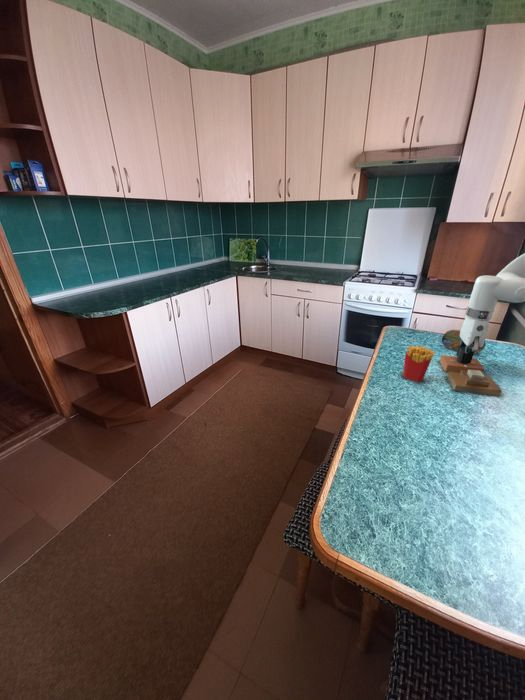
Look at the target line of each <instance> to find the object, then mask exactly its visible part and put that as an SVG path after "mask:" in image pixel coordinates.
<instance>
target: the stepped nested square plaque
mask: <svg viewBox="0 0 525 700" xmlns="http://www.w3.org/2000/svg"><path fill="white" fill-rule="evenodd" d="M467 372H468V371H464V370H461V372H460V373H456V372H447V373H446V379H447V380H448V382H449V384H450V386H451V387H452V389H453V391H454V392H461V393H468V394H469V393H470V394H477V395H478V394H479V395H485V396H486V395H487V396H494V397H500V396H501V393H502V390H501V389H502V388H500V387H499V385H498V384H497V382H495V380H494V379H493V378H492V377H491V376H490V375H485V374H484V373H482V374H483V375H484V379H483V380H478V379H470V377H469V376H468V375H467Z"/></svg>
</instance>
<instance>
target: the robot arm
mask: <svg viewBox="0 0 525 700" xmlns="http://www.w3.org/2000/svg"><path fill="white" fill-rule="evenodd" d="M498 301H503V302H509V303H515V304H517V303H524V302H525V253H523V254H521V255H519V256H517V257H516V258H515V259H513V260H512V261H510V262H509V263H508V264H507V265H506V266H505V267H504V268H502V269H501V270H500V271H499V272H498V273H497V274H496V275H488V274H487V275H480V276H478V277H477V278H476V279H475V282H474V284H473V287H472V291H471V294H470V297H469V301H468V304H467V307H466V310H465V313H464V316H465V317H464V320H463V322H462V325H461V328H460V338H461V342H460V344H459V348H458V351H457V352H456V357H457V356H458V353H459V350H460V347H466V348H465V352H463V354H462V357H461V360H460V362H461V363H471V360H472V358H474V355H475V354H476V353H475V352H477V351H478V346H479V347H483V345H484V342H485V343H486V338H487V335H488V331H489V325H490V321H491V320H492V318H493V315H494V312H495V309H496V307H497V303H498ZM470 344H473V345H470ZM469 347H472V348H471V349H468V348H469Z"/></svg>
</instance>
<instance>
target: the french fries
mask: <svg viewBox="0 0 525 700" xmlns="http://www.w3.org/2000/svg"><path fill="white" fill-rule="evenodd" d="M434 356H435V351H434V350H432V349H430V348H428V347H426V346H423V345H421V346H418V345H411V346H410V345H408V346H407V351H406V352H405V356H404V365H403V374H402V377H403V378H405V379H406V380H410V381H412V382H413V381H414V382H417V383H420V382H423V380H424V378H425V375H426V373H427V371H428V368H429V365H430V364H431V361H432V359H433V358H434Z"/></svg>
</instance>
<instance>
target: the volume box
mask: <svg viewBox="0 0 525 700" xmlns="http://www.w3.org/2000/svg"><path fill="white" fill-rule="evenodd" d="M456 359H457V356H455V355H445V354H441V356H440V358H439V363H440V365H441V367H442V369H443V371H444V372H445V373H448V372H456V373H460V372H461V370H464V371H468V370H478V371H481V372H482V373H483V374H484V372H485V369H486V368H485V367H484V366H483V364H482V363H481V362H480V361H479V360H478V358H476V357H473V358H472V360H471V363H468V364H461V363H459V362H457V361H456Z"/></svg>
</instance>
